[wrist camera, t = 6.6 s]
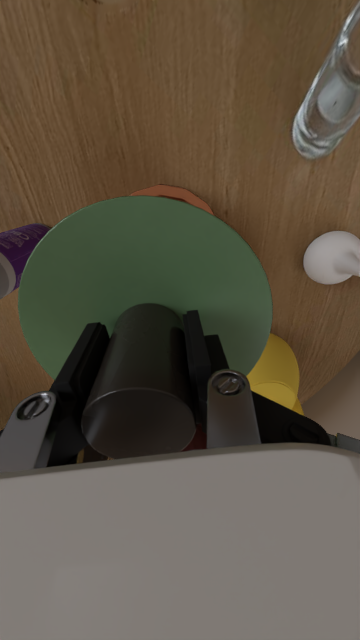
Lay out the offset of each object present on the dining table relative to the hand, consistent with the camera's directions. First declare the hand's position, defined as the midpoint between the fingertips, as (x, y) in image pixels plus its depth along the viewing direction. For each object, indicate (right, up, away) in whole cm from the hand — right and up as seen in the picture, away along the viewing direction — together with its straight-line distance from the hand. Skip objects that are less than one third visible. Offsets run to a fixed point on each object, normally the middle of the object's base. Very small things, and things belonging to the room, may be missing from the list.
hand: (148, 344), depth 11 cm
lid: (0, +1, +1) cm, 1 cm away
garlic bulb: (+20, +10, +19) cm, 29 cm away
